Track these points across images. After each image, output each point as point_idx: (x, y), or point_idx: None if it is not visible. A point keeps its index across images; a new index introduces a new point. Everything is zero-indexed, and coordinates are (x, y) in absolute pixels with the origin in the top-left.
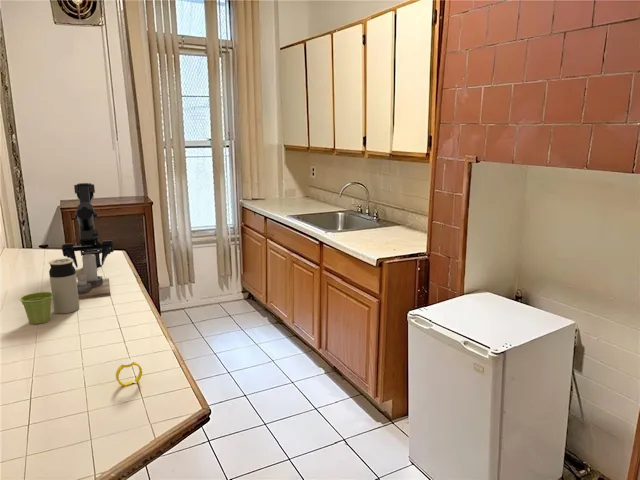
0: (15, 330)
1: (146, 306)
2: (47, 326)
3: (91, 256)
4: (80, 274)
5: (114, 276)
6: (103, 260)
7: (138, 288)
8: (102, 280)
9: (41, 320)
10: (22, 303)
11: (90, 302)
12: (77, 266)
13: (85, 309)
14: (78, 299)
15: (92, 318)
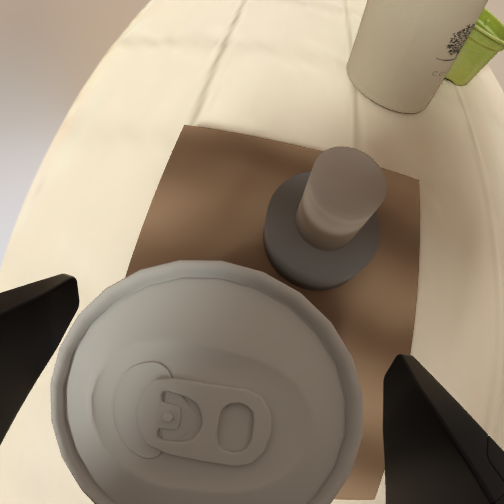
0: None
1: (151, 8)
2: None
3: (162, 266)
4: (358, 213)
5: (54, 499)
6: (25, 285)
7: (44, 167)
8: None
9: None
10: (496, 31)
11: (299, 98)
12: (389, 378)
13: (325, 54)
14: (355, 40)
15: (311, 6)
